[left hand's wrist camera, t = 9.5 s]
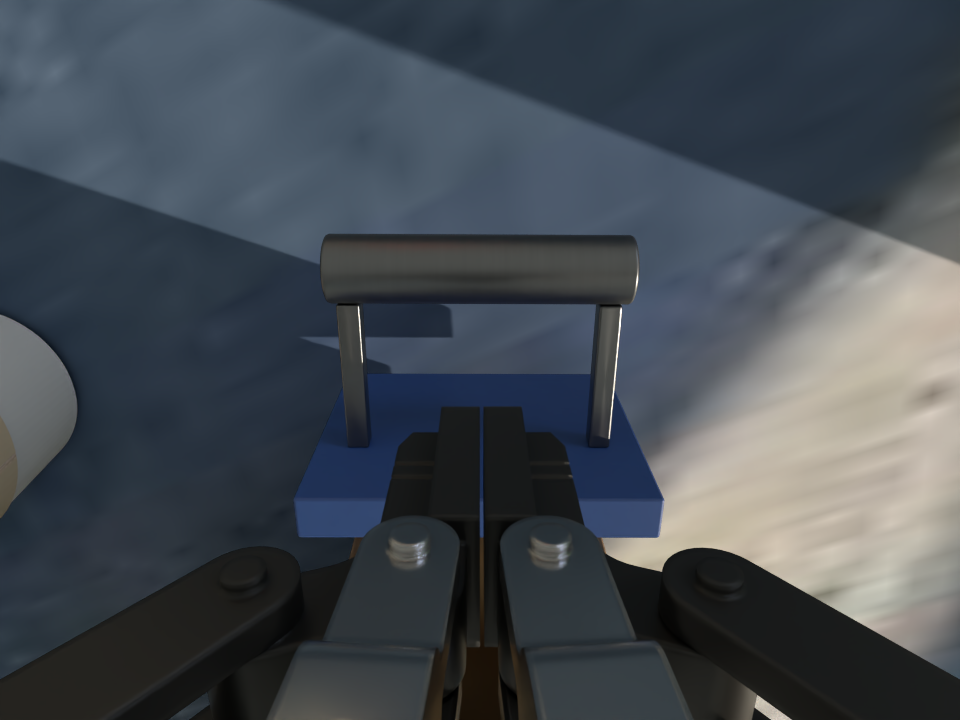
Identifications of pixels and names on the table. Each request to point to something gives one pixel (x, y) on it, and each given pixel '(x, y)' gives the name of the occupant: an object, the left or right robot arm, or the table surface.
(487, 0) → the table surface
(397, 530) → the left robot arm
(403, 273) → the drawer
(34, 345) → the coffee cup
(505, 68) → the table surface
